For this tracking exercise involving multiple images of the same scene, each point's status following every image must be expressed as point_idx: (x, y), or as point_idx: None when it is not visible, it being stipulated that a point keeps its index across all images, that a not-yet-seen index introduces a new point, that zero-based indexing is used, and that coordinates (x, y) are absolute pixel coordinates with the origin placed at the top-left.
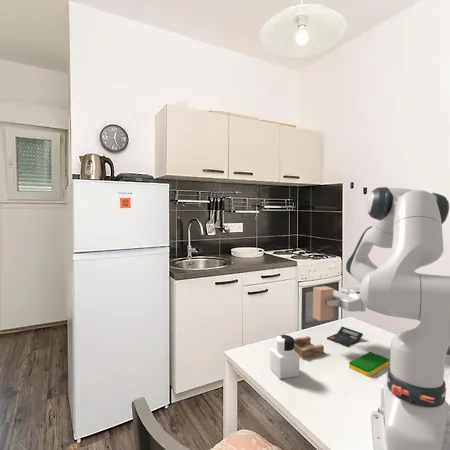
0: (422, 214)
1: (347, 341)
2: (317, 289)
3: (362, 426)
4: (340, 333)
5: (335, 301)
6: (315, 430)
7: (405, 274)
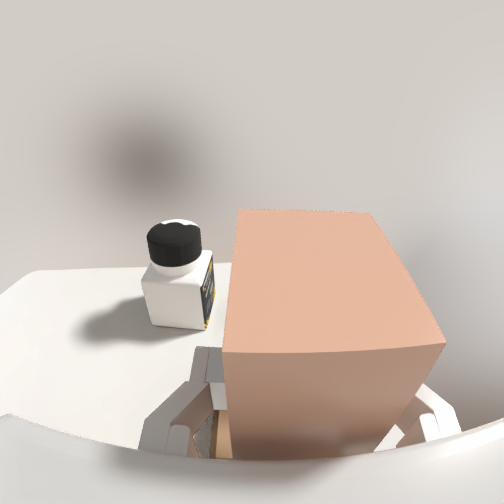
0: None
1: None
2: (295, 215)
3: (5, 315)
4: None
5: (157, 412)
6: (51, 271)
7: None
